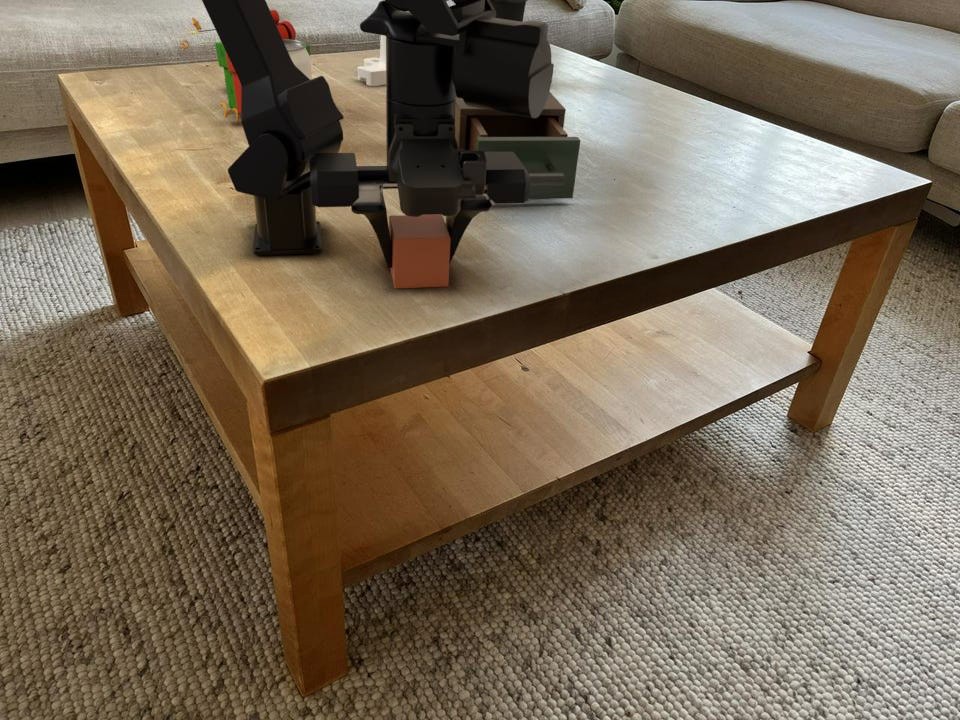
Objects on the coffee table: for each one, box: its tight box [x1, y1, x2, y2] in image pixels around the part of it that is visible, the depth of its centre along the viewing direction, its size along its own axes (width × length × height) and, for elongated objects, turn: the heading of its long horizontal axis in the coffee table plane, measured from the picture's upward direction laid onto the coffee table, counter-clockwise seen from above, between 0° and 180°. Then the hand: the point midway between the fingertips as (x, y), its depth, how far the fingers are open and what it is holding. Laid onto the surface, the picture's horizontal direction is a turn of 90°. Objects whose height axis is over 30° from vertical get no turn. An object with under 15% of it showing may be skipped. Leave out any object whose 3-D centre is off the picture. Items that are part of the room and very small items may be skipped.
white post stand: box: [357, 0, 386, 87], centre depth 122 cm, size 11×8×20 cm
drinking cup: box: [490, 0, 529, 22], centre depth 123 cm, size 8×8×20 cm
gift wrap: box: [179, 9, 311, 124], centre depth 103 cm, size 20×19×14 cm
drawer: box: [465, 115, 581, 201], centre depth 88 cm, size 17×11×7 cm
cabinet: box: [455, 91, 567, 149], centre depth 96 cm, size 14×13×9 cm
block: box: [388, 214, 450, 290], centre depth 71 cm, size 5×5×5 cm
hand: (418, 265), depth 72 cm, fingers closed on block, 5 cm apart
